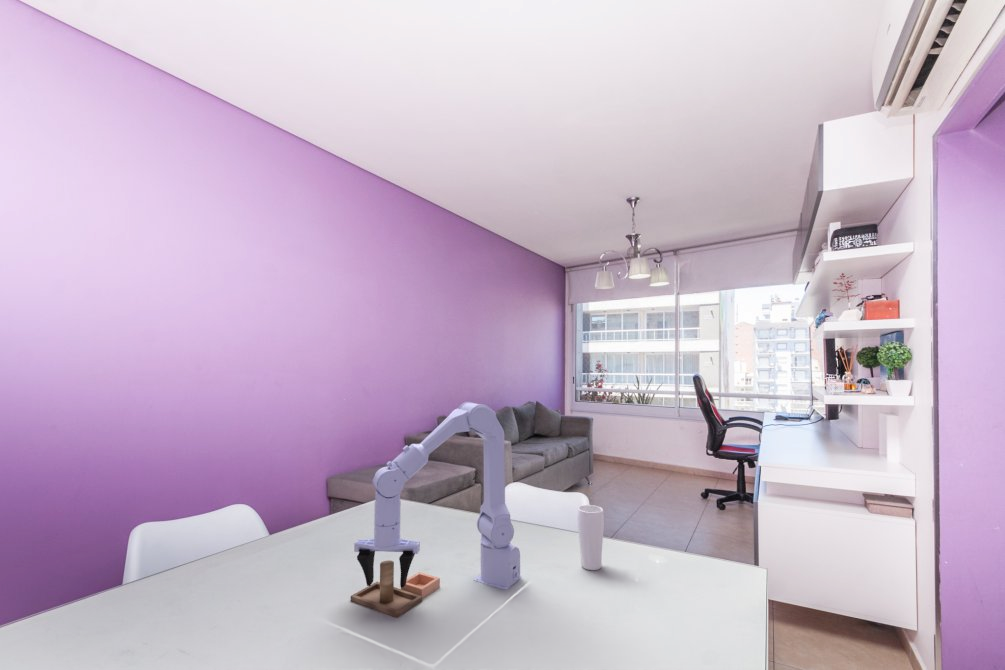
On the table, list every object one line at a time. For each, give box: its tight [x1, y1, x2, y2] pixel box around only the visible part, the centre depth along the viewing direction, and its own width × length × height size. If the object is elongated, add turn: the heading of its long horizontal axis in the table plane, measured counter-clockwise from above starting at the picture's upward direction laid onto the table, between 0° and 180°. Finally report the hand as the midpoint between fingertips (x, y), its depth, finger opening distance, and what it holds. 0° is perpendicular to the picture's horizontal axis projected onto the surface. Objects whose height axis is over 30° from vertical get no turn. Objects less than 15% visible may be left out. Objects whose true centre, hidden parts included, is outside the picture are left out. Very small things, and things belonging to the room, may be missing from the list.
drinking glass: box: [577, 504, 605, 571], centre depth 122 cm, size 7×7×15 cm
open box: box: [400, 572, 441, 599], centre depth 109 cm, size 6×6×2 cm
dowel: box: [379, 559, 395, 604], centre depth 104 cm, size 3×3×8 cm
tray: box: [350, 581, 423, 619], centre depth 104 cm, size 14×8×2 cm, turn 59°
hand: (386, 584), depth 104 cm, fingers open, 7 cm apart
